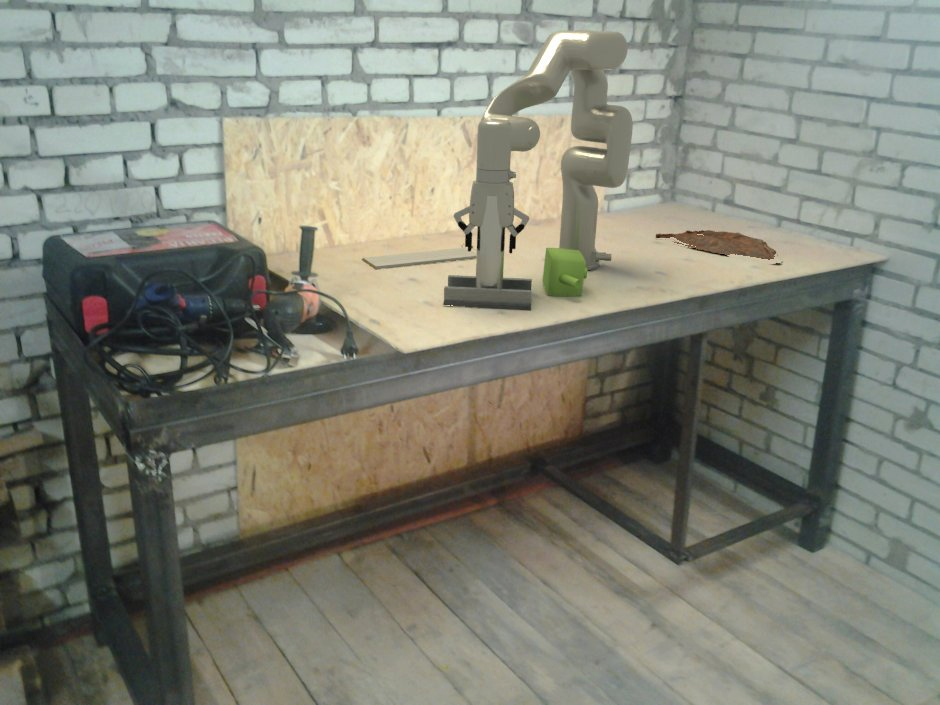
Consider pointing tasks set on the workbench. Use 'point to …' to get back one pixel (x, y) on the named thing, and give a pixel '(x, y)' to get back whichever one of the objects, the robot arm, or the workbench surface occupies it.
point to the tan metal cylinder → (490, 248)
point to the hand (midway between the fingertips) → (490, 251)
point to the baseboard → (419, 258)
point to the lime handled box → (564, 272)
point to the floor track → (488, 293)
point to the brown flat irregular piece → (724, 243)
